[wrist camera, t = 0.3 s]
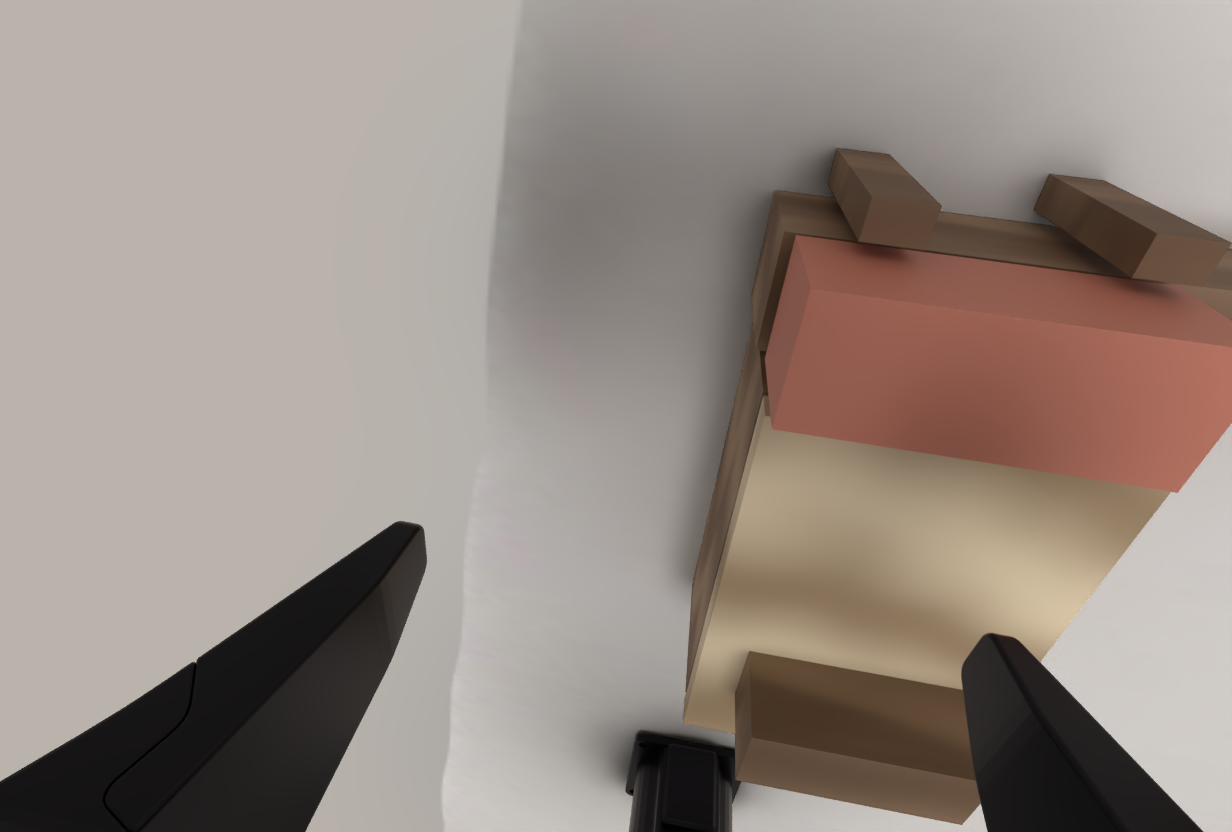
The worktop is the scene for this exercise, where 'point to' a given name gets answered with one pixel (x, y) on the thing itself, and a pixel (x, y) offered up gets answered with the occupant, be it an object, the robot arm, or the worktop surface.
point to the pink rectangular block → (999, 363)
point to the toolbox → (911, 219)
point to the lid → (886, 608)
